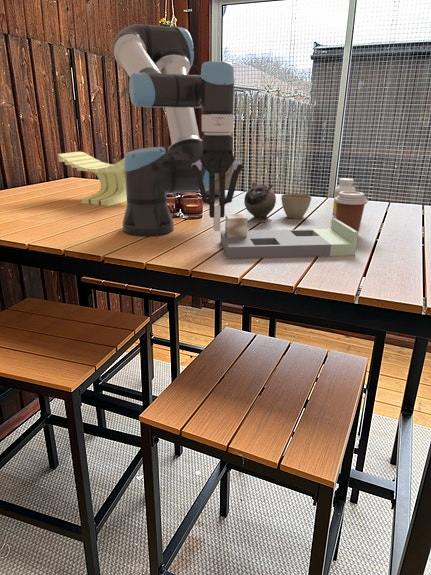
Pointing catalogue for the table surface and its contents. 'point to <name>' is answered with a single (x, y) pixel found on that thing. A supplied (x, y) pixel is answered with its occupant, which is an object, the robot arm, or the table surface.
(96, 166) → the slatted curved stool
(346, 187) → the supplement bottle
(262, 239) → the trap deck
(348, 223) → the coffee cup
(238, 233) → the cream block
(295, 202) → the flower pot
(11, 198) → the table surface
